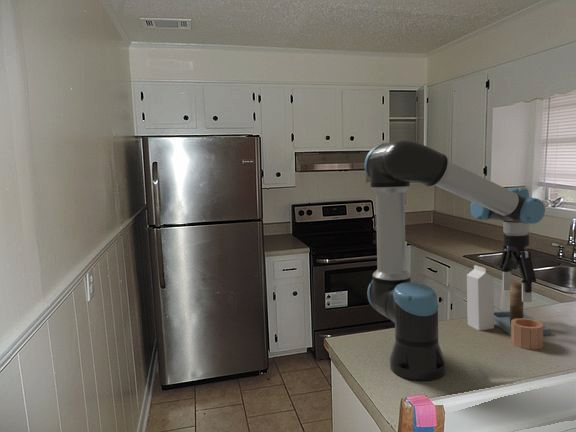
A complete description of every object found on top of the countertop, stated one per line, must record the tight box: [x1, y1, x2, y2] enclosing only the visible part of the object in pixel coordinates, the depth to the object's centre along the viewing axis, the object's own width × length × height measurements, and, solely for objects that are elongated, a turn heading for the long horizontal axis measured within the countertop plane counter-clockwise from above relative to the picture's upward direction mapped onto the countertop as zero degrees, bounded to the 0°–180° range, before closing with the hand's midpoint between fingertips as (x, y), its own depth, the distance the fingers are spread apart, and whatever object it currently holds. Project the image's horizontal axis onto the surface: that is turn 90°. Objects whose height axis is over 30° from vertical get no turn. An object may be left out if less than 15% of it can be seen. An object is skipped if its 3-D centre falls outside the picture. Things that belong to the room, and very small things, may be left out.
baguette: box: [509, 282, 524, 325], centre depth 138 cm, size 4×4×14 cm
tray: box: [494, 310, 551, 337], centre depth 139 cm, size 12×18×3 cm, turn 176°
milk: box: [466, 264, 495, 331], centre depth 139 cm, size 6×6×22 cm
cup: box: [510, 318, 544, 350], centre depth 124 cm, size 8×8×8 cm
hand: (516, 295), depth 138 cm, fingers open, 13 cm apart
